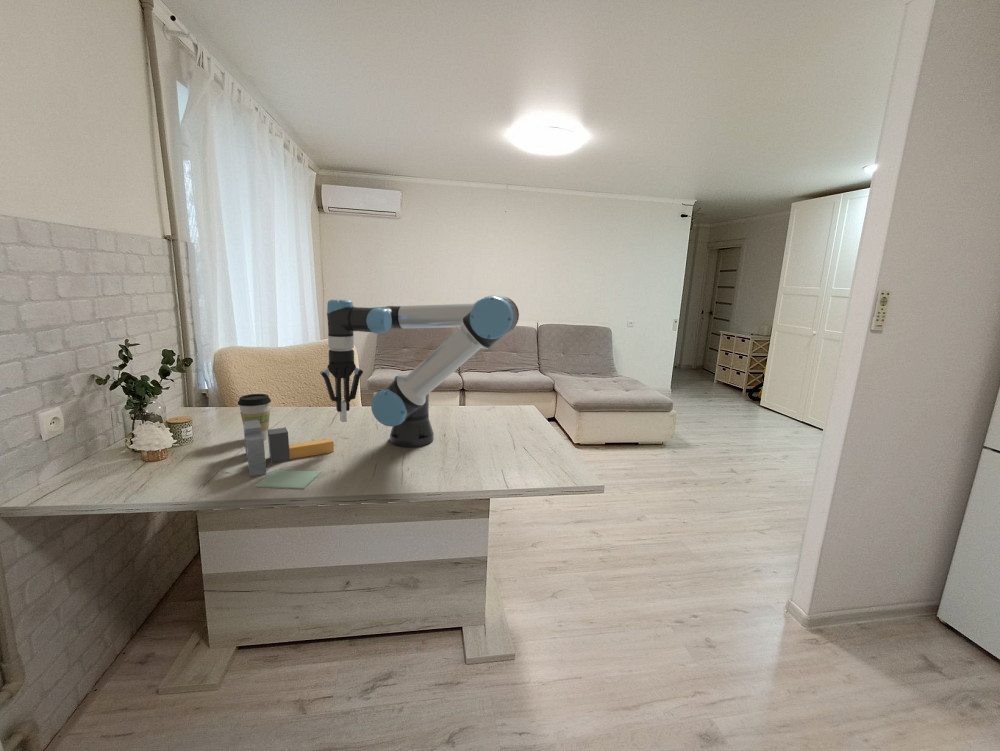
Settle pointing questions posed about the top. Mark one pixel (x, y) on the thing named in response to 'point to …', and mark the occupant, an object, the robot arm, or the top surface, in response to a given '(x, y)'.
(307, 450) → the plug
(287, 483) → the mat
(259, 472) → the block
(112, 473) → the top surface
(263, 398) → the coffee cup
